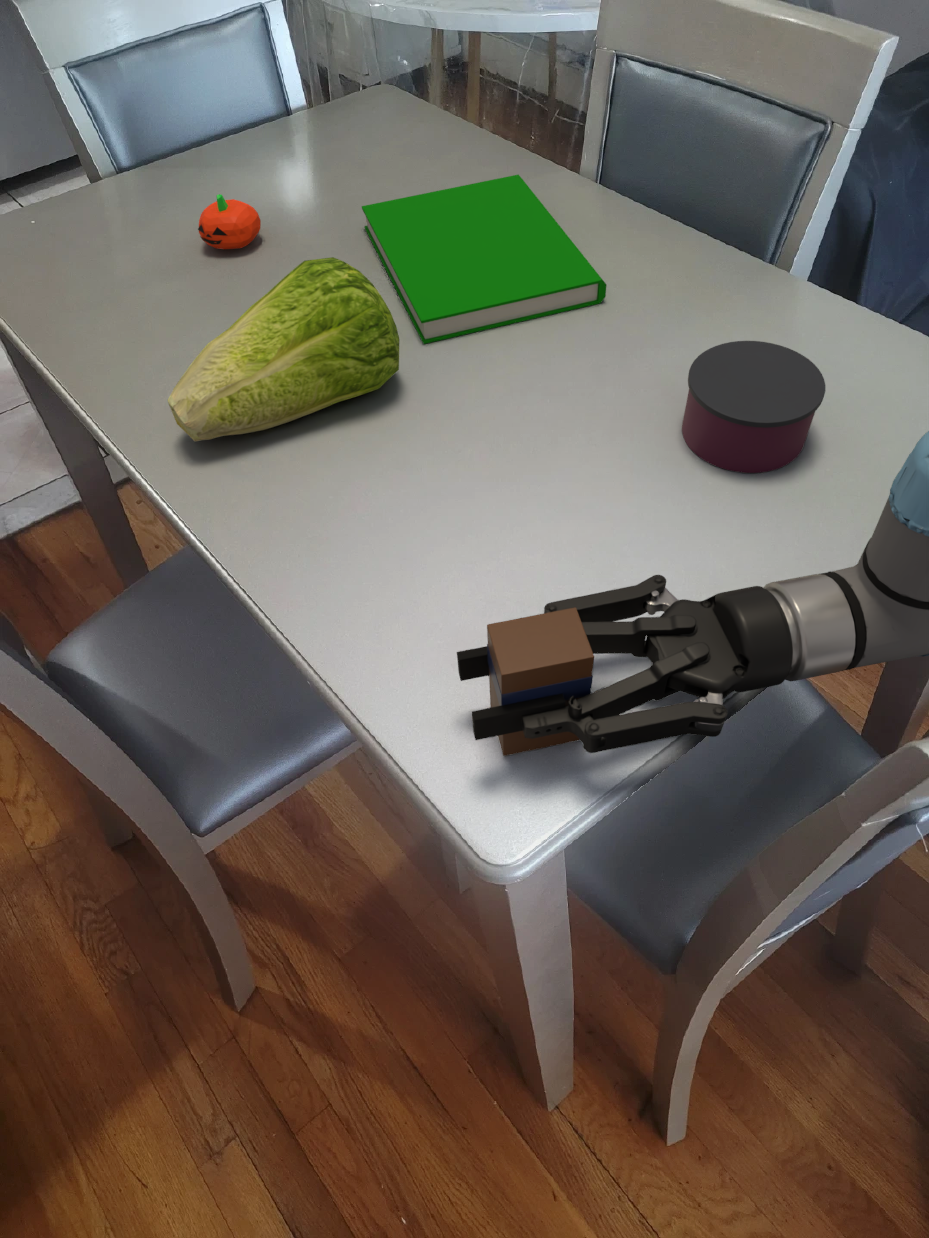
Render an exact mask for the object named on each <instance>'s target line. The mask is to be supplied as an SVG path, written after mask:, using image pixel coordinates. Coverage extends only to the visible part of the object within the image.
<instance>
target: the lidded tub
mask: <svg viewBox="0 0 929 1238" xmlns="http://www.w3.org/2000/svg"><path fill="white" fill-rule="evenodd" d="M687 386H688V392H687V397H686V403H685V406H684V407H685V408H684V413H683V418H682V419H683V420H682V423H681V434H682V437H683V439H684V442H685V444H686V445H687V447H688V448H689V450H691V451H692V453H694V454H695V455H696V456H697V457H699V458H700V459H701V460H703V461H704V462H706V463H707V464H709V465H712V466H713V467H714V466H715V467H717V468H719V469H723V470H726V471H730V472H736V473H742V474H743V473H744V474H760V473H767V472H772V471H775V470H778V469H781V468H783V467H785V466H787V465H789V464H790V463H792V462H793V461H795V460H796V459H797V458H798V457H799V455H800V454H801V452H802V451H803V448H804V447H805V444H806V440H807V437H808V434H809V431H810V429H811V425H812V423H813V419H814V418H815V417H814V416H815V414H816V411H817V410H818V409H819V407H820V406H821V404H822V403H823V401H824V397H825V394H826V381H825V378H824V376H823V373H822V372H821V371H820V369H819V368H818V367H817V366H816V364H815V363H814V362H812V360H810V359H809V358H808V357H806V356H805V355H803V354H801V353H799V352H798V351H796V350H793V349H791V348H789V347H786V346H784V345H780V344H777V343H772V342H767V341H759V340H737V341H729V342H724V343H720V344H717V345H714V346H712V347H710V348H708V349H706V350H704V351H703V352H701V353H700V354H699V355H698V356H697V357H696V358H695V359H694V360H693V362H692V364H690V367H689V371H688V376H687Z"/></svg>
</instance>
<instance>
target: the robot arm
mask: <svg viewBox="0 0 929 1238" xmlns="http://www.w3.org/2000/svg"><path fill="white" fill-rule="evenodd" d="M873 530H874V531H873V533H872V534H871V537H870V538H869V540H868V541H867V543H866V545H865V547H864V549H863V551H862V553H861V555H860V558H859V560H858V562H857V563H856V564H855V565H853V566H850V567H845V568H840V569H836V570H832V571H827V572H822V573H821V572H820V573H815V574H814V573H813V574H809V575H804V576H799V577H793V578H787V579H782V580H776V581H770V582H769V583H766V584H765V585H764V586H760V585H752V586H748V587H742V588H738V589H733V590H728V591H723V592H718V593H715V594H714V595H712V596H710V597H708V598H706V599H704V600H691V599H685V598H684V599H678V598H677V597H676V596H675V595H674V594H673V593H672V592H670V590H668V588H666V585H667V579H666V576H664V575H661V574H654V575H652V576H650V577H648V578H646V579H645V580H643V581H641V582H639V583H638V584H635V585H630V586H625V587H621V588H615V589H610V590H606V591H601V592H596V593H591V594H586V595H581V596H575V597H570V598H566V599H560V600H556V601H552V602H551V601H550V602H549V603H546V604H545V605H544V607H543V614H544V613H549V612H554V611H559V610H565V609H570V608H576V609H577V612H578V614H579V617H580V620H581V622H582V625H583V628H584V630H585V633H586V636H587V638H588V641H589V644H590V646H591V649H592V652H593V654H594V655H604V654H605V655H608V654H609V655H613V654H614V655H616V654H617V655H618V654H619V655H620V654H623V655H624V654H627V655H628V654H629V655H630V654H631V656H633V657H635V658H648V660H649V661H650V662H651V663H652V664H651V665H650V666H649V667H648V668H647V669H644V670H641V671H640V672H637V673H635V674H633V675H630V676H628V677H626V678H623V679H620V680H619V681H616V682H614V683H612V684H609V685H607V686H605V687H602V688H600V689H598V690H595V691H593V692H591V694H588V695H586V696H584V697H581V698H579V699H577V700H576V699H574V696H572V697H571V698H570V699H569V706H565V699H564V696H563V693H562V694H557V695H552V696H547V697H542V698H537V699H532V700H527V701H522V702H517V703H512V704H508V705H501V706H496V707H487V708H483V709H477V710H472V711H471V719H472V720H471V721H472V722H471V723H472V732H473V736H474V740H475V741H479V740H484V739H490V738H494V737H498V736H499V735H504V734H509V733H514V732H519V731H523V733H524V736H525V738H530V739H534V738H539V737H544V736H548V735H553V734H558V733H563V732H571V733H573V734H575V735H576V736H577V737H578V738H579V739H580V740H579V741H580V742H581V743H582V748H583V750H584V751H585V752H587V753H589V754H594V753H599V752H605V751H610V750H615V749H616V750H617V749H621V748H625V747H630V746H635V745H639V744H640V745H641V744H645V743H650V742H656V741H660V740H661V741H662V740H666V739H671V738H675V737H680V736H684V735H694V736H702V737H711V738H714V737H718V736H719V735H720V734H721V733H722V730H723V727H724V724H725V721H726V719H727V716H728V709H727V708H726V707H725V706H724V699H726V698H727V697H728V696H729V695H731V694H732V693H746V692H751V691H755V690H759V689H760V690H761V689H765V688H771V687H775V686H779V685H781V684H783V683H784V682H785V681H788V682H795V681H796V682H797V681H801V680H806V679H811V678H816V677H821V676H826V675H830V674H831V675H832V674H835V673H840V672H844V671H851V670H853V669H856V668H861V667H868V666H872V665H879V664H883V663H888V662H894V661H900V660H904V659H905V660H906V659H910V658H915V657H929V430H928V431H926V433H924V434H923V435H922V436H921V437H920V438H919V440H918V441H917V443H916V444H915V445H914V447H913V449H912V450H911V452H909V454H908V455H907V458H906V459H905V461H904V463H903V464H902V466H901V468H900V470H899V471H898V473H897V474H896V476H895V478H894V479H893V480H892V484H891V487H890V488H889V495H888V497H887V499H886V502H885V504H884V507H883V508H882V511H881V513H880V516H879V518H878V521H877V523H876V526H875V528H874V529H873ZM659 612H663V613H662V614H661V615H660V616H655V614H656V613H659ZM646 613H647V614H648V615H649V616H643V615H644V614H646ZM640 616H641V617H640ZM636 617H637V618H636ZM633 618H636V619H634V620H631V621H623V620H627V619H633ZM456 657H457V660H456V661H457V671H458V676H459V681H460V682H463V681H468V680H473V679H474V680H475V679H478V678H484V677H489V666H488V657H487V645H485V646H481V647H476V648H475V647H474V648H470V649H465V650H460V651H456ZM679 692H680V693H684V694H686V695H690V696H693V697H697V699H695V700H693V701H686V702H685V701H684V702H678V703H673V704H667V705H664V706H663V705H662V706H659V707H652V708H647V709H642V710H637V711H633V712H629V711H631V710H634V709H635V708H638V707H640V706H643V705H644V704H647V703H649V702H652V701H654V702H659V701H662V700H663V699H666V698H668V697H670V696H673V695H675V694H677V693H679ZM626 712H627V713H626Z"/></svg>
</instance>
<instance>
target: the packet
mask: <svg viewBox="0 0 929 1238" xmlns="http://www.w3.org/2000/svg"><path fill="white" fill-rule="evenodd" d="M486 635H487V636H486V637H487V644H486V646H487V657H488V666H489V676H488V679H489V681H488V682H489V703H490V704H489V705H490V707H489V708H491V707H496V706H501V705H508V704H512V703H517V702H522V701H527V700H532V699H537V698H542V697H547V696H552V695H557V694H562V693H563V696H564V699H565V706H569V699H570V698H571V697H572V696H574V699H576V700H577V699H579V698H581V697H584V696H586V695H588V694H591V693H592V685H593V678H594V677H593V670H594V663H595V662H594V661H595V654H593V652H592V649H591V646H590V644H589V641H588V638H587V636H586V633H585V630H584V628H583V625H582V622H581V620H580V617H579V614H578V612H577V609H576V608H570V609H565V610H559V611H554V612H549V613H544V612H543V613H538V614H534V615H529V616H525V617H519V618H518V617H517V618H514V619H508V620H503V621H498V622H493V623H488V624H486ZM497 738H498V743H499V746H500V750H501V754H502V756H503V757H507V756H512V755H516V754H517V755H518V754H521V753H526V752H531V751H536V750H540V749H545V748H549V747H555V746H560V745H565V744H569V743H574V742H578V741H580V739H579V738H578V737H577V736H576V735H575V734H573V733H571V732H563V733H558V734H553V735H548V736H544V737H539V738H534V739H530V738H525V736H524V733H523V731H519V732H514V733H509V734H504V735H499V736H497Z"/></svg>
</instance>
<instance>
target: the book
mask: <svg viewBox="0 0 929 1238" xmlns="http://www.w3.org/2000/svg"><path fill="white" fill-rule="evenodd" d="M361 209H362V212H363V214H364V216H365V220H366V225H364V230H365V232H366V234H367V235H368V238H369V240H370V241H371V244H372V246H373V248H374V250H375V252H376V253H377V256H378V257H379V260H380V262H381V263H382V265H383V267H384V270H385V271H386V273H387V275H388V277H389V280H390V281H391V283H392V285H393V287H394V290H395V291H396V294H397V295H398V297H399V298H400V300H401V303H402V305H403V306H404V308H405V310H406V312H407V315H408V316H409V318H410V320H411V322H412V324H413V326H414V328H415V330H416V332H417V334H418V336H419V338H420V340H421V342H422V344H423V345H426V344H431V343H434V342H439V341H444V340H447V339H452V338H457V337H461V336H466V335H470V334H474V333H479V332H482V331H487V330H492V329H495V328H499V327H505V326H508V325H509V326H510V325H513V324H517V323H522V322H525V321H530V320H534V319H539V318H543V317H548V316H552V315H556V314H560V313H565V312H569V311H574V310H577V309H582V308H586V307H590V306H595V305H599V304H601V303H602V302H603V301H604V299H605V298H606V296H607V283H606V282H605V281H604V280H603V278H602V277H601V276H600V274H599V273H598V272H597V271H596V269H595V268H594V266H592V264H591V263H590V262H589V260H588V259H587V258H586V257H585V255H584V254H583V253H582V252H581V250H580V249H579V248H578V247H577V246H576V244H575V243H574V242H573V241H572V239H571V238H570V237H569V235H568V234H567V233H566V232H565V230H564V229H563V228H562V227H561V226H560V224H559V223H558V221H557V220H556V219H555V218H554V216H553V215H552V214H551V213H550V211H549V210H548V209H547V208H546V207H545V206H544V204H543V203H542V202H541V200H540V199H539V198H538V197H537V196H536V194H535V193H534V191H533V190H532V189H531V187H529V185H528V184H527V183H526V182H525V180H524V179H523V178H522V177H521V176H520V174H513V175H509V176H504V177H499V178H494V179H489V180H484V181H480V182H475V183H474V182H473V183H470V184H469V183H468V184H465V185H460V186H454V187H449V188H444V189H440V190H435V191H434V190H433V191H430V192H426V193H421V194H416V195H409V196H406V197H402V198H396V199H390V200H386V201H381V202H375V203H371V204H365V205H361Z"/></svg>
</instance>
